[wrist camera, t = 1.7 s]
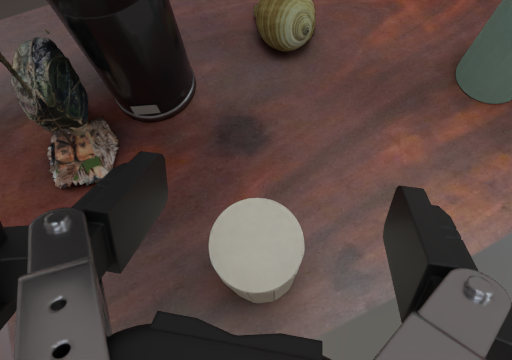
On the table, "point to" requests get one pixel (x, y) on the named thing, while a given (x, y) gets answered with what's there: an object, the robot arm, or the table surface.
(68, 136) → the plant with pod
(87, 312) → the robot arm
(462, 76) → the bottle
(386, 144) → the table surface
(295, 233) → the canister
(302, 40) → the seashell
